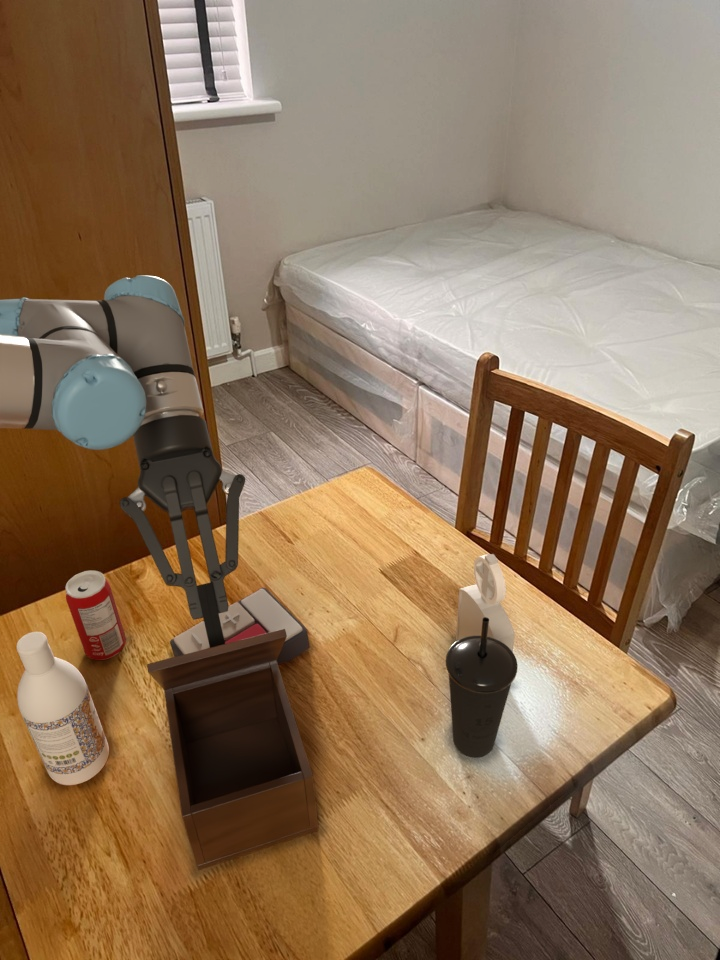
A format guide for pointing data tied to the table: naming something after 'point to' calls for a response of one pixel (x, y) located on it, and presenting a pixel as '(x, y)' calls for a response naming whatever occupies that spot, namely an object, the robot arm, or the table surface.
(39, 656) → the bath foam
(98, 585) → the soda can
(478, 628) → the gravestone
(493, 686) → the drinking cup
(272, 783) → the chest
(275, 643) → the chest lid
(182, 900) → the table surface
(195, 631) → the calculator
